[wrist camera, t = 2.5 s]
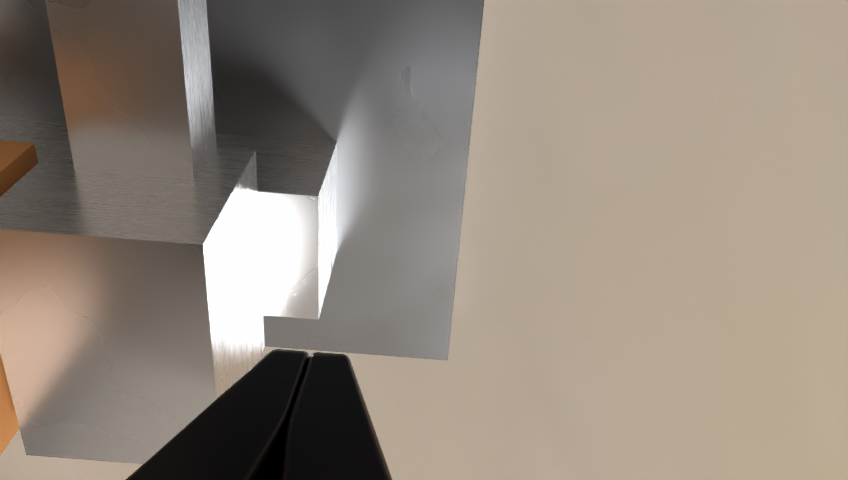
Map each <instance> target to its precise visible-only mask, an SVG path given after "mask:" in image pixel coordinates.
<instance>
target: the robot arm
mask: <svg viewBox="0 0 848 480" xmlns="http://www.w3.org/2000/svg"><path fill="white" fill-rule="evenodd" d="M126 480H392V478H391V475H390V472H389V469H388V466H387V464H386V461H385V458H384V455H383V452H382V449H381V447H380V444H379V441H378V438H377V435H376V432H375V430H374V427H373V424H372V421H371V418H370V415H369V413H368V410H367V407H366V404H365V401H364V398H363V396H362V393H361V390H360V387H359V384H358V381H357V379H356V376H355V373H354V370H353V367H352V364H351V362H350V359H349V358H348V356H346V355H344V354H333V353H320V352H316V353H314V354H312V355H311V356H309V354H308V353H307V352H305V351H295V350H282V349H276V350H272V351H270V352H269V353H268V354H267V355H266V356H264V357H263V358H262V359H261V360H260V361H259V362H258V363H257V364H255V365H254V366H253V367H252V368H251V369H250V370H249V371H248V372H246V373H245V374H244V375H243V376H242V377H241V378H240V379H239V380H237V381H236V382H235V383H234V384H233V385H232V386H231V387H230V388H228V389H227V390H226V391H225V392H224V393H223V394H222V395H221V396H219V397H218V398H217V399H216V400H215V401H214V402H213V403H212V404H210V405H209V406H208V407H207V408H206V409H205V410H204V411H203V412H201V413H200V414H199V415H198V416H197V417H196V418H195V419H194V420H192V421H191V422H190V423H189V424H188V425H187V426H186V427H185V428H183V429H182V430H181V431H180V432H179V433H178V434H177V435H176V436H174V437H173V438H172V439H171V440H170V441H169V442H168V443H167V444H165V445H164V446H163V447H162V448H161V449H160V450H159V451H158V452H156V453H155V454H154V455H153V456H152V457H151V458H150V459H149V460H147V461H146V462H145V463H144V464H143V465H142V466H141V467H140V468H138V469H137V470H136V471H135V472H134V473H133V474H132V475H131V476H129V477H128V478H127V479H126Z"/></svg>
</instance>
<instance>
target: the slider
mask: <svg viewBox="0 0 848 480" xmlns="http://www.w3.org/2000/svg"><path fill="white" fill-rule="evenodd" d="M37 164H38V158H37V153H36V148H35V143H30V142H17V141H4V140H0V197H1V196H2V195H3V194H4V193H6V192H7V191H8V190H9V189H10V188H11V187H12V186H13V185H14V184H15V183H17V182H18V181H19V180H20V179H21V178H22V177H23V176H24V175H25V174H27V173H28V172H29V171H30V170H31V169H32V168H33V167H34V166H35V165H37ZM18 429H19V424H18V420H17V416H16V412H15V408H14V404H13V400H12V396H11V393H10V389H9V385H8V381H7V377H6V373H5V369H4V365H3V362H2V358H1V354H0V455H1V454H2V452H3V451H4V450H5V448H6V447H7V445H8V444H9V442H10V441H11V439H12V438H13V436H14V435H15V433H16V432H17V431H18Z"/></svg>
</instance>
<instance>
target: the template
mask: <svg viewBox="0 0 848 480" xmlns="http://www.w3.org/2000/svg"><path fill="white" fill-rule="evenodd" d="M483 7H484V0H0V140H4V141H17V142H30V143H35V148H36V153H37V158H38V164H37V165H35V166H34V167H33V168H32V169H31V170H30V171H29V172H28V173H27V174H25V175H24V176H23V177H22V178H21V179H20V180H19V181H18V182H17V183H15V184H14V185H13V186H12V187H11V188H10V189H9V190H8V191H7V192H6V193H4V194H3V195H2V196H1V197H0V354H1V358H2V362H3V365H4V369H5V373H6V377H7V381H8V385H9V389H10V393H11V396H12V400H13V404H14V408H15V412H16V416H17V420H18V424H19V428H20V431H21V435H22V439H23V443H24V447H25V451H26V455H33V456H46V457H59V458H72V459H85V460H98V461H111V462H124V463H136V464H144V463H145V462H146V461H147V460H149V459H150V458H151V457H152V456H153V455H154V454H155V453H156V452H158V451H159V450H160V449H161V448H162V447H163V446H164V445H165V444H167V443H168V442H169V441H170V440H171V439H172V438H173V437H174V436H176V435H177V434H178V433H179V432H180V431H181V430H182V429H183V428H185V427H186V426H187V425H188V424H189V423H190V422H191V421H192V420H194V419H195V418H196V417H197V416H198V415H199V414H200V413H201V412H203V411H204V410H205V409H206V408H207V407H208V406H209V405H210V404H212V403H213V402H214V401H215V400H216V399H217V398H218V397H219V396H221V395H222V394H223V393H224V392H225V391H226V390H227V389H228V388H230V387H231V386H232V385H233V384H234V383H235V382H236V381H237V380H239V379H240V378H241V377H242V376H243V375H244V374H245V373H246V372H248V371H249V370H250V369H251V368H252V367H253V366H254V365H255V364H257V363H258V362H259V361H260V360H261V358H262V355H263V352H264V349H265V346H268V347H281V348H294V349H307V350H320V351H333V352H346V353H359V354H372V355H385V356H398V357H411V358H424V359H437V360H448V351H449V341H450V331H451V322H452V312H453V302H454V292H455V282H456V272H457V263H458V253H459V243H460V233H461V223H462V213H463V204H464V194H465V184H466V174H467V164H468V154H469V145H470V135H471V125H472V115H473V105H474V95H475V86H476V76H477V66H478V56H479V46H480V36H481V26H482V17H483Z"/></svg>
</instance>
